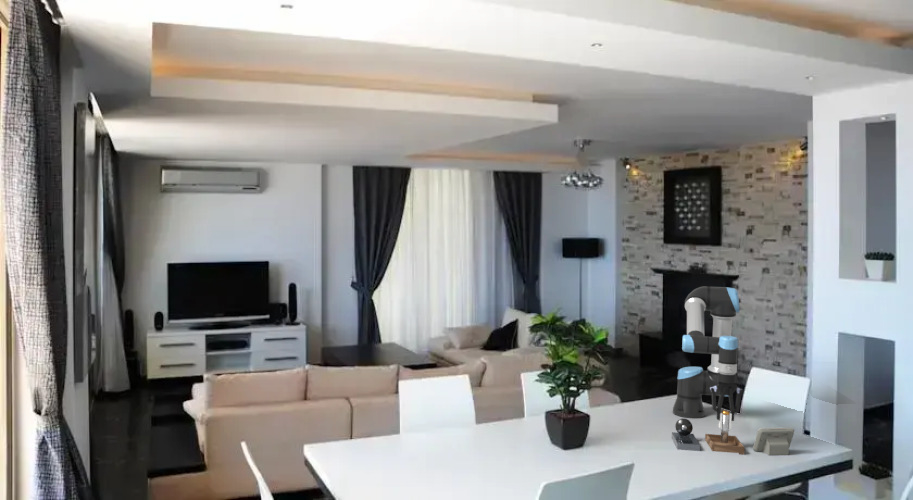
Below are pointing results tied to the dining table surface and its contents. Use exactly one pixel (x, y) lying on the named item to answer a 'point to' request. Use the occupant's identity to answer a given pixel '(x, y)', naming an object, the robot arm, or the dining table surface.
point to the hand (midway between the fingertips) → (724, 427)
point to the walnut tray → (724, 444)
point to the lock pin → (725, 426)
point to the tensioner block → (685, 436)
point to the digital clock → (773, 440)
